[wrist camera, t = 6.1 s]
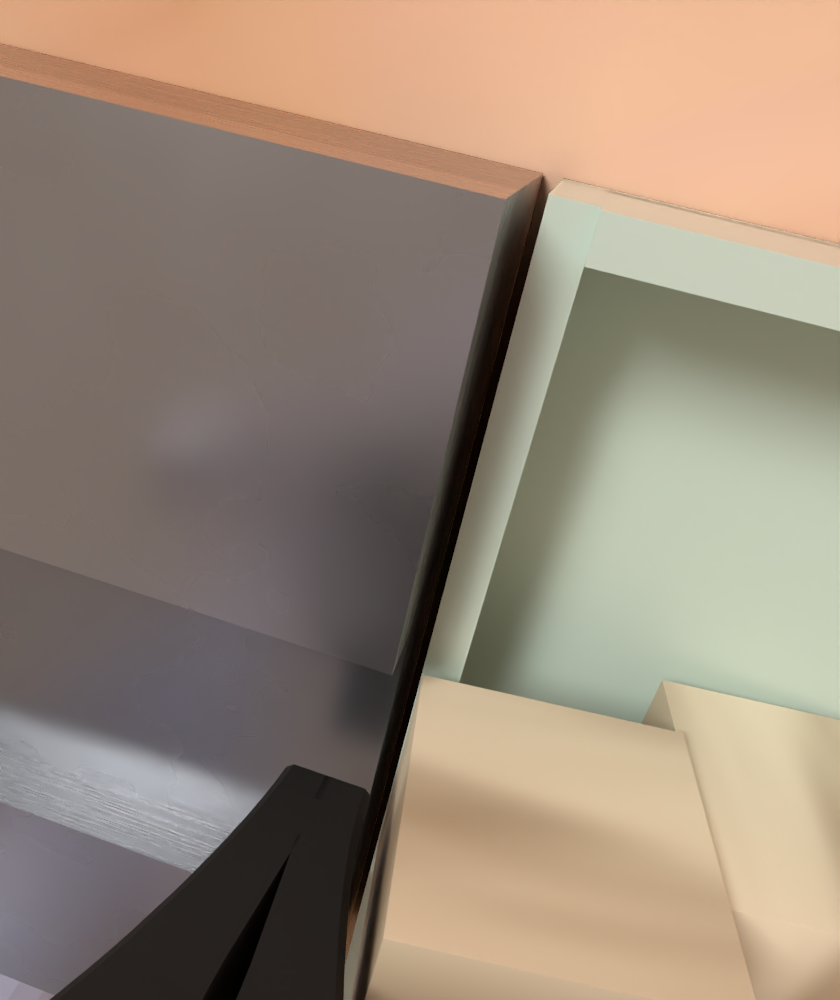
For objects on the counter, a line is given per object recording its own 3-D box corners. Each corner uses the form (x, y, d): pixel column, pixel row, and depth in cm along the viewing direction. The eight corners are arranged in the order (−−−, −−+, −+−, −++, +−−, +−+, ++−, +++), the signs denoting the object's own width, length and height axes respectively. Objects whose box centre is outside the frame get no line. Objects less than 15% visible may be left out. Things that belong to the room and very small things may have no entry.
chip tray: (810, 1082, 18) (845, 1259, 15) (362, 919, 19) (319, 1054, 16) (1464, 393, 9) (1829, 511, 6) (564, 178, 10) (543, 199, 8)
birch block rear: (589, 831, 14) (791, 876, 14) (614, 1067, 11) (880, 1127, 11) (662, 679, 12) (895, 732, 12) (721, 906, 9) (1044, 979, 9)
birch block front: (600, 892, 13) (633, 1182, 10) (378, 843, 13) (329, 1114, 10) (682, 732, 11) (761, 1024, 8) (422, 674, 11) (384, 938, 8)
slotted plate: (351, 915, 19) (293, 1089, 16) (-121, 743, 21) (-269, 867, 17) (543, 173, 11) (505, 199, 7) (-296, -28, 12) (-663, -86, 9)
